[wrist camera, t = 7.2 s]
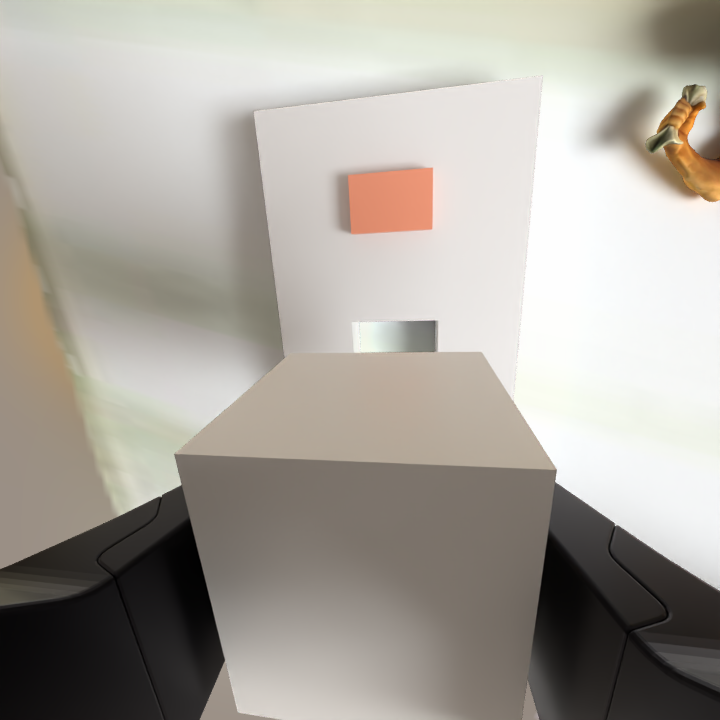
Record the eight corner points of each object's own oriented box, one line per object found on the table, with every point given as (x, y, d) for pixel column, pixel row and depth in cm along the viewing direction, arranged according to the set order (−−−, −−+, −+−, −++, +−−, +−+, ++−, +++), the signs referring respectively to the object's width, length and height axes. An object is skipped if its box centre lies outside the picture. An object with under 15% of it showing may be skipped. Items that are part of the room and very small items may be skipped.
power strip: (491, 524, 19) (502, 565, 17) (316, 513, 21) (304, 548, 18) (524, 99, 13) (549, 66, 11) (274, 128, 15) (246, 104, 12)
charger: (461, 485, 11) (516, 758, 5) (326, 478, 12) (237, 712, 6) (468, 331, 10) (556, 470, 4) (312, 334, 11) (174, 453, 4)
